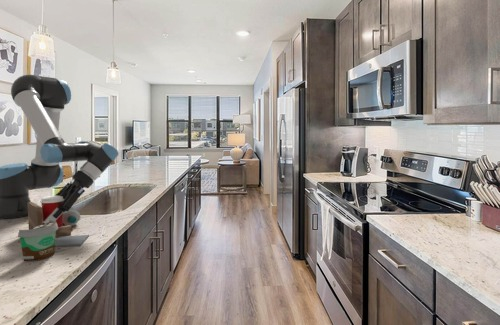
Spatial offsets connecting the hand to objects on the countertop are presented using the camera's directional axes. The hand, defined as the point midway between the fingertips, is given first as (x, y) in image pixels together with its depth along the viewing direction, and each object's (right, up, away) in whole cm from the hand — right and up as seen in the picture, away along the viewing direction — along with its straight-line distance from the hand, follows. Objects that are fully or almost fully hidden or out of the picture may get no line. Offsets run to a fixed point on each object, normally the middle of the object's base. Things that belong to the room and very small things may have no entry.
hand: (43, 221), depth 120 cm
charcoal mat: (+13, -6, -6) cm, 16 cm away
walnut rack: (+1, -5, +2) cm, 6 cm away
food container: (+13, -7, -19) cm, 24 cm away
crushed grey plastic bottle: (-2, -4, +18) cm, 19 cm away
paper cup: (+2, -5, +3) cm, 6 cm away
